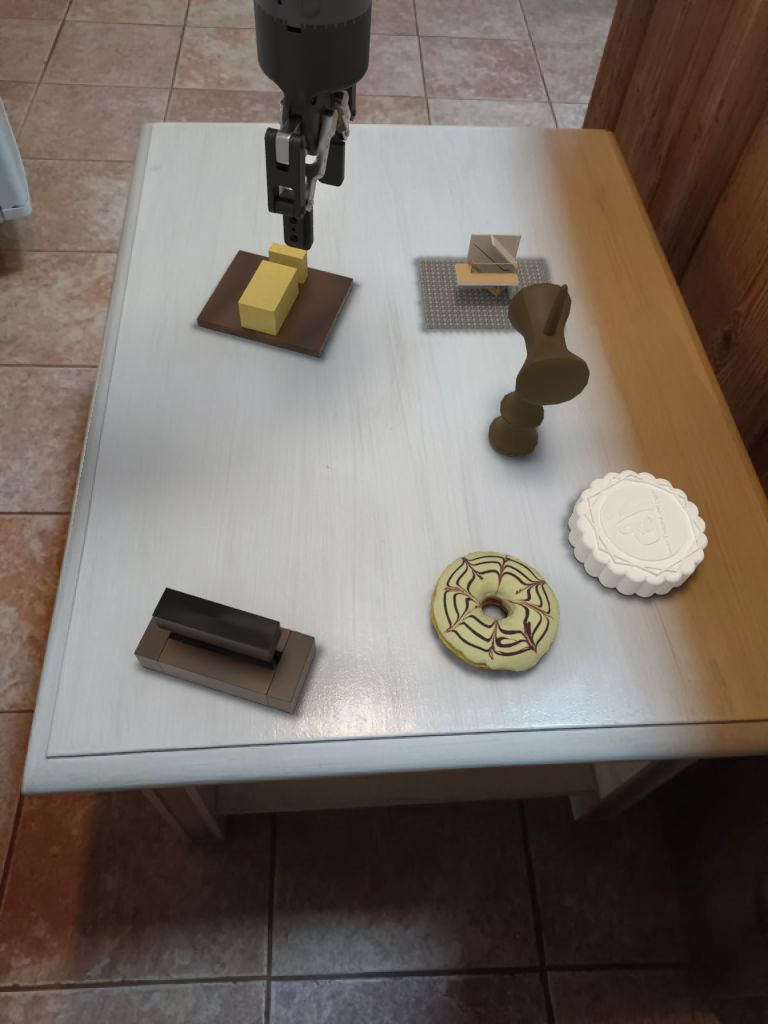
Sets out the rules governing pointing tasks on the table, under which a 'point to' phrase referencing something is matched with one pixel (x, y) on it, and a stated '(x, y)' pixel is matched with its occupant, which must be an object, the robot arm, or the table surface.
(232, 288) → the butter board
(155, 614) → the bench knife
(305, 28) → the robot arm
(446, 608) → the decorated donut
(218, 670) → the stand
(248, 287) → the butter block
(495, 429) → the kendama
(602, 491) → the mooncake
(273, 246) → the butter slice
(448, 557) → the table surface
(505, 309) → the architectural model
